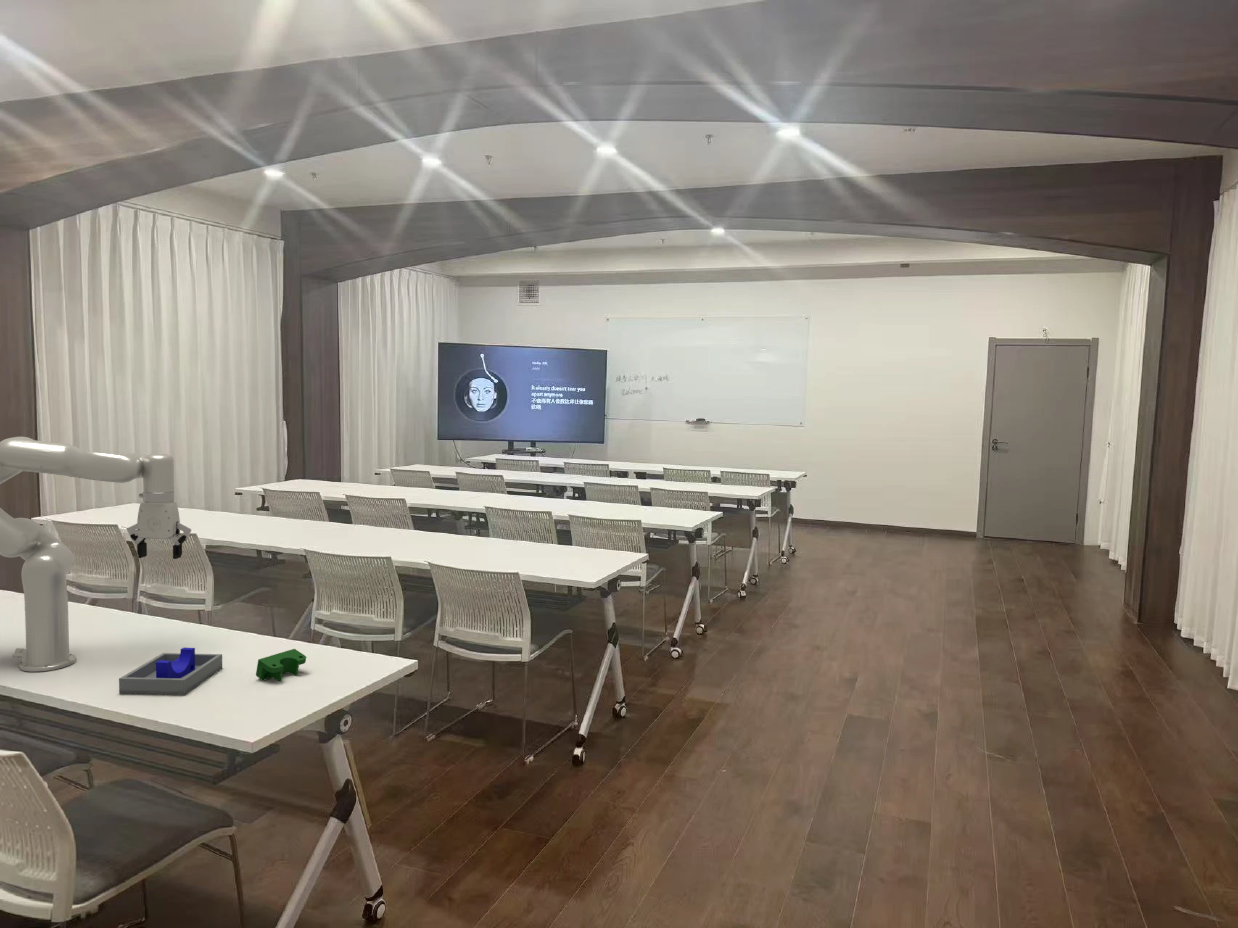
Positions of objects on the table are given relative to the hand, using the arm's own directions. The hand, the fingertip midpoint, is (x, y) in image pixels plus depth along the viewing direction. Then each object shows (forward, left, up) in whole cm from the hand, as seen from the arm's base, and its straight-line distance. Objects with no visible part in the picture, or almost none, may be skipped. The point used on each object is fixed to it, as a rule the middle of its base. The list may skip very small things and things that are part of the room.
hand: (159, 557), depth 224 cm
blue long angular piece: (+14, -20, -28) cm, 37 cm away
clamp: (+40, -15, -29) cm, 52 cm away
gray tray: (+14, -20, -28) cm, 37 cm away
